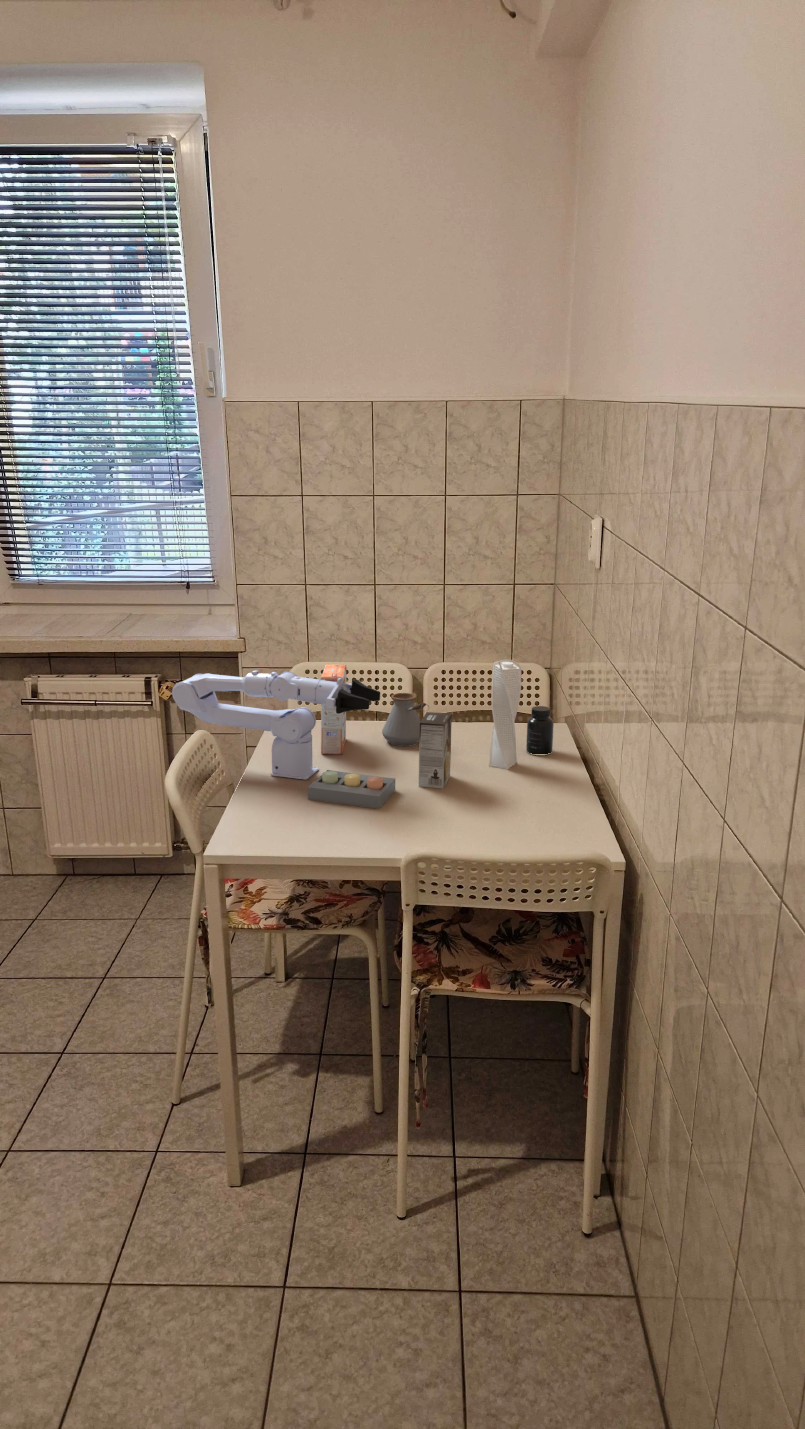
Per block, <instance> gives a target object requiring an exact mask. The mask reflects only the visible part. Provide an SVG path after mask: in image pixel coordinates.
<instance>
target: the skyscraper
mask: <svg viewBox="0 0 805 1429" xmlns="http://www.w3.org/2000/svg"><path fill="white" fill-rule="evenodd" d="M492 665H493V666H492V676H491V692H490V693H491V695H490V696H491V697H490V698H491V701H490V702H491V712H492V713H491V714H492V720H493V727H492V728H493V730H492V736H491V742H490V750H489V751H490V753H489V760H488V766H490V767H493V768H499V769H504V770H509V769H510V768H512V767H513V766H514V765H516V764H517V763H518V761H517V760H518V757H517V737H516V724H515V723H516V722H515V720H516V717H517V714H518V709H519V705H520V700H521V691H522V667H521V665H520V663H518V662H517V661H516V660H513V659H509V658H508V659H506V658H505V659H500V660H496V661H494V662H493V664H492ZM515 763H516V764H515ZM512 765H513V766H512Z"/></svg>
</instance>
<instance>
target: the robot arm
mask: <svg viewBox="0 0 805 1429" xmlns="http://www.w3.org/2000/svg"><path fill="white" fill-rule="evenodd" d="M172 687H173V688H172V689H171V695H172V698H173V701H174V702H175V704H176V705H177V707H178V708H179V709H180V710H182V711H185V712H189V713H190V714H192V715H194V716H195V717H197V718H198V719H199V720H201V721H202V722H203V723H207V724H211V725H220V726H228V727H235V728H241V729H242V728H243V729H248V730H249V729H250V730H256V731H263V732H264V731H265V732H271V734H272V736H273V737H275V738H274V739H273V741H272V744H271V773H270V775H271V776H274V777H282V778H288V779H289V778H290V779H298V780H305V781H307V780H308V779H310V777H312V775H314V774H315V773H316V772H318V771H319V767H315V766H313V735H312V731H313V729H314V728H315V726H316V723H317V718H316V716H315V713H314V712H313V711H312V710H311V709H310V708H309V707H305V706H304V707H303V706H301V707H298V708H295V709H290V708H286V709H280V710H279V709H278V710H274V709H265V708H258V707H251V706H250V707H249V706H243V705H234V704H227V703H221V702H219V700H218V697H217V695H216V692H229V691H230V692H243V693H244V694H245V695H246V696H247V697H254V698H255V697H256V698H274V699H276V700H278V702H286V701H288V700H289V699H290V700H294V701H299V702H306V703H312V704H316V705H317V704H318V705H321V704H322V705H326V707H331V708H334V707H336V713H338V714H340V713H343V712H346V713H347V712H350V711H366V710H369V709H370V702H379V701H380V700H381V691H379V690H378V689H374V688H372V687H370V686H367V685H365V684H364V683H363V682H361V681H360V680H359V679H356V678H355V679H353V680H351V683H349V682H348V683H347V682H346V683H343V682H342V678H338V679H337V682H332V681H325V680H321V679H320V678H311V677H305V676H298V675H297V674H295V673H294V672H292V671H286V670H285V671H283V672H282V673H280V675H279V674H278V672H277V671H272V672H271V673H266V672H265V673H264V672H263V673H262V672H259V670H253V671H251V672H248V673H247V674H246V675H245V676H244V677H243V676H233V675H224V674H221V675H220V674H214V673H213V674H212V673H209V672H208V673H196V674H194V675H192V676H191V677H188V678H187V679H185V680H183V681H179V682H177V683H175V684H174V686H172Z"/></svg>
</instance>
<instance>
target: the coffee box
mask: <svg viewBox="0 0 805 1429" xmlns="http://www.w3.org/2000/svg"><path fill="white" fill-rule="evenodd" d="M452 716H453V713H451V712H450V713H449V712H446V713H445V712H434V711H433V712H431V711H425V714H424V715H423V717H422V719H420V721H421V722H420V737H419V741H418V744H419V745H418V747H419V748H418V751H419V752H418V754H419V755H418V787H422V788H433V789H434V788H435V789H445V787H446V785H447V783H448V781H449V779H450V776H451V754H452V752H451V751H452V718H453V717H452Z"/></svg>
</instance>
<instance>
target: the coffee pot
mask: <svg viewBox="0 0 805 1429" xmlns="http://www.w3.org/2000/svg"><path fill="white" fill-rule="evenodd" d="M390 698H391V700H392V702H393V705H392V707H391V710H390V712H389V713H388V714H389V715H388V716H387V718H386V721H385V723H384V725H383V728H382V730H381V735H382V736H383V738H384V739H385V740H386V741H387V742H388V744H390V745H393V746H395V747H411V746H410V745H412V746H415V745H417V744H418V743H419V737H420V722H421V719H420V716H419V715H418V712H417V711H418V710H419V709H420V710H421V711H422V712H424V709H423V708H424V707H426V706H428V707H427V710H426V712H429V710H430V705H428V704H427V703H426V702H421V703H418V704H416V705H415V704H414V702H415V699H416V698H417V696H416V695H415V694H414V693H410V692H409V693H408V692H398V693H394V694H391V697H390ZM417 742H418V743H417ZM416 743H417V744H416Z"/></svg>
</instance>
